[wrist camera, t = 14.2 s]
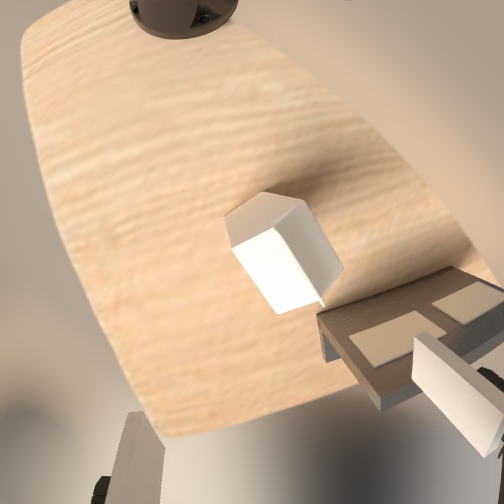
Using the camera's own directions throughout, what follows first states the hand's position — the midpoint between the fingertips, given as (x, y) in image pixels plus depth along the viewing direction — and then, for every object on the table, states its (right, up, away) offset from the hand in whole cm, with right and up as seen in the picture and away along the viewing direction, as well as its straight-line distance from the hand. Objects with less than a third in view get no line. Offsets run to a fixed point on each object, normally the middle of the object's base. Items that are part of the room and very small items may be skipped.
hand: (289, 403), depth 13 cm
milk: (-1, +10, +27) cm, 29 cm away
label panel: (+21, -3, +33) cm, 39 cm away
